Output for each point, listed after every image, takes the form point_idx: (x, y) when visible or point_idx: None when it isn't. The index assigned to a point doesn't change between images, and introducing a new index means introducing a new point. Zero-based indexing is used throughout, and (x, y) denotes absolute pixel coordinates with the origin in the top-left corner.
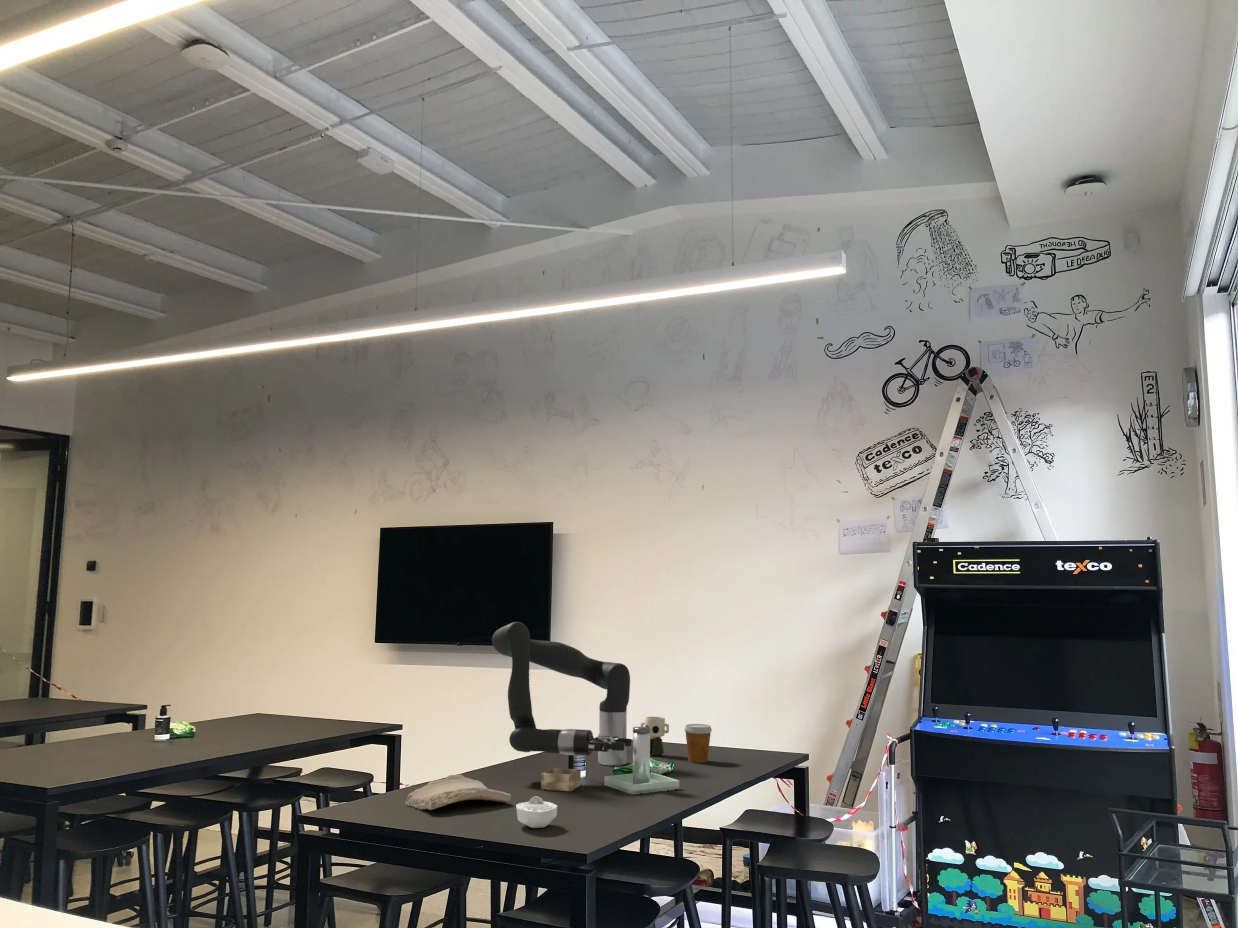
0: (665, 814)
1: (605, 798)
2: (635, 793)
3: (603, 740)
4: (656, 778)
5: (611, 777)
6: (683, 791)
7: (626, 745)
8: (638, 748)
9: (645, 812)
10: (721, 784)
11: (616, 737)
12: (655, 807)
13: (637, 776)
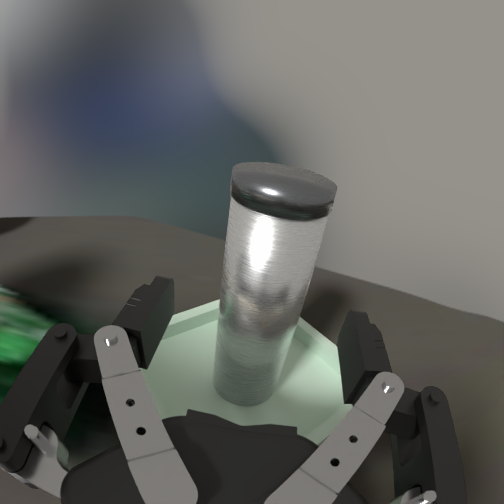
0: (481, 319)
1: None
2: None
3: (380, 432)
4: (172, 333)
5: None
6: None
7: (164, 328)
8: (309, 282)
9: (492, 344)
10: (189, 242)
11: (98, 342)
12: (457, 336)
13: (280, 373)
